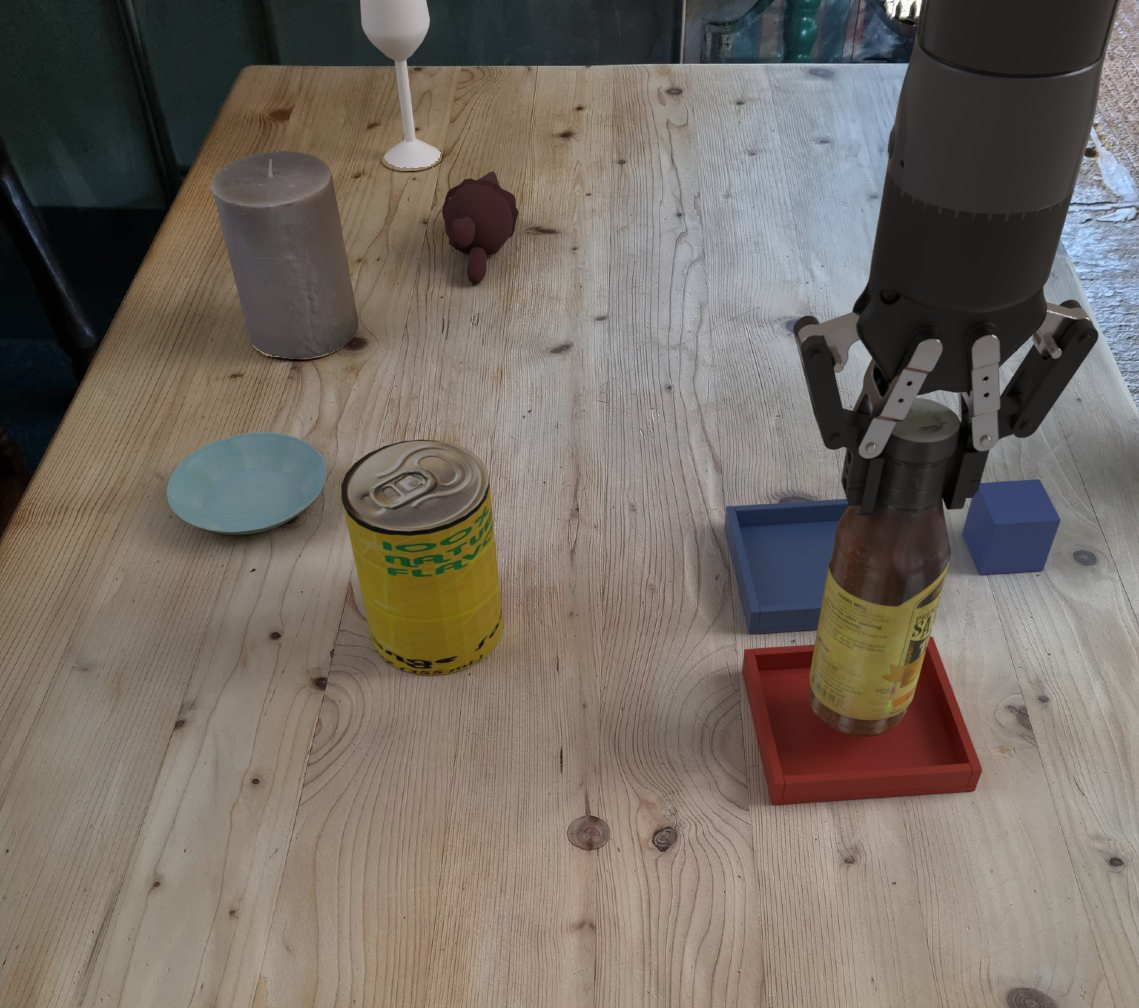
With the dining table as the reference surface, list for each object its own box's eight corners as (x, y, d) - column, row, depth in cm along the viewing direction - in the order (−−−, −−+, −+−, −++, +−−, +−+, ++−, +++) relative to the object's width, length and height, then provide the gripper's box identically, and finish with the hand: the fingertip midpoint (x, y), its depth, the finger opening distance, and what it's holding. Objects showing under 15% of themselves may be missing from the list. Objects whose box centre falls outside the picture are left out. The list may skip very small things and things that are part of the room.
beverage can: (530, 625, 82) (520, 480, 73) (430, 696, 78) (406, 552, 69) (443, 566, 87) (422, 422, 78) (344, 630, 83) (310, 486, 74)
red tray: (926, 658, 79) (933, 636, 78) (975, 791, 72) (982, 769, 71) (741, 670, 79) (744, 648, 78) (771, 805, 72) (774, 784, 70)
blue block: (1023, 530, 88) (1040, 478, 84) (1043, 571, 85) (1061, 519, 81) (961, 533, 87) (975, 482, 84) (979, 575, 85) (994, 524, 81)
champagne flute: (451, 146, 131) (425, -120, 113) (433, 174, 127) (402, -98, 109) (392, 142, 132) (357, -123, 114) (372, 169, 128) (332, -101, 110)
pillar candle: (329, 293, 112) (297, 123, 100) (378, 339, 106) (350, 165, 95) (231, 326, 109) (186, 154, 97) (276, 375, 103) (234, 199, 92)
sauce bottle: (908, 748, 72) (990, 469, 56) (801, 736, 72) (853, 457, 57) (908, 670, 76) (985, 390, 61) (807, 659, 77) (858, 380, 61)
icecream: (444, 146, 117) (413, 235, 108) (516, 129, 114) (490, 218, 106) (469, 213, 122) (441, 303, 113) (539, 198, 120) (515, 288, 111)
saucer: (326, 548, 88) (321, 523, 87) (163, 559, 88) (154, 534, 86) (335, 452, 96) (330, 427, 94) (185, 461, 96) (177, 437, 94)
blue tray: (889, 517, 89) (894, 495, 87) (929, 622, 82) (935, 600, 80) (724, 528, 89) (726, 505, 87) (748, 634, 81) (751, 612, 80)
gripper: (827, 217, 47) (781, 559, 60) (1191, 194, 47) (1066, 540, 60) (791, 133, 52) (756, 467, 65) (1122, 113, 52) (1020, 450, 65)
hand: (906, 501), depth 62 cm, fingers closed on sauce bottle, 4 cm apart
